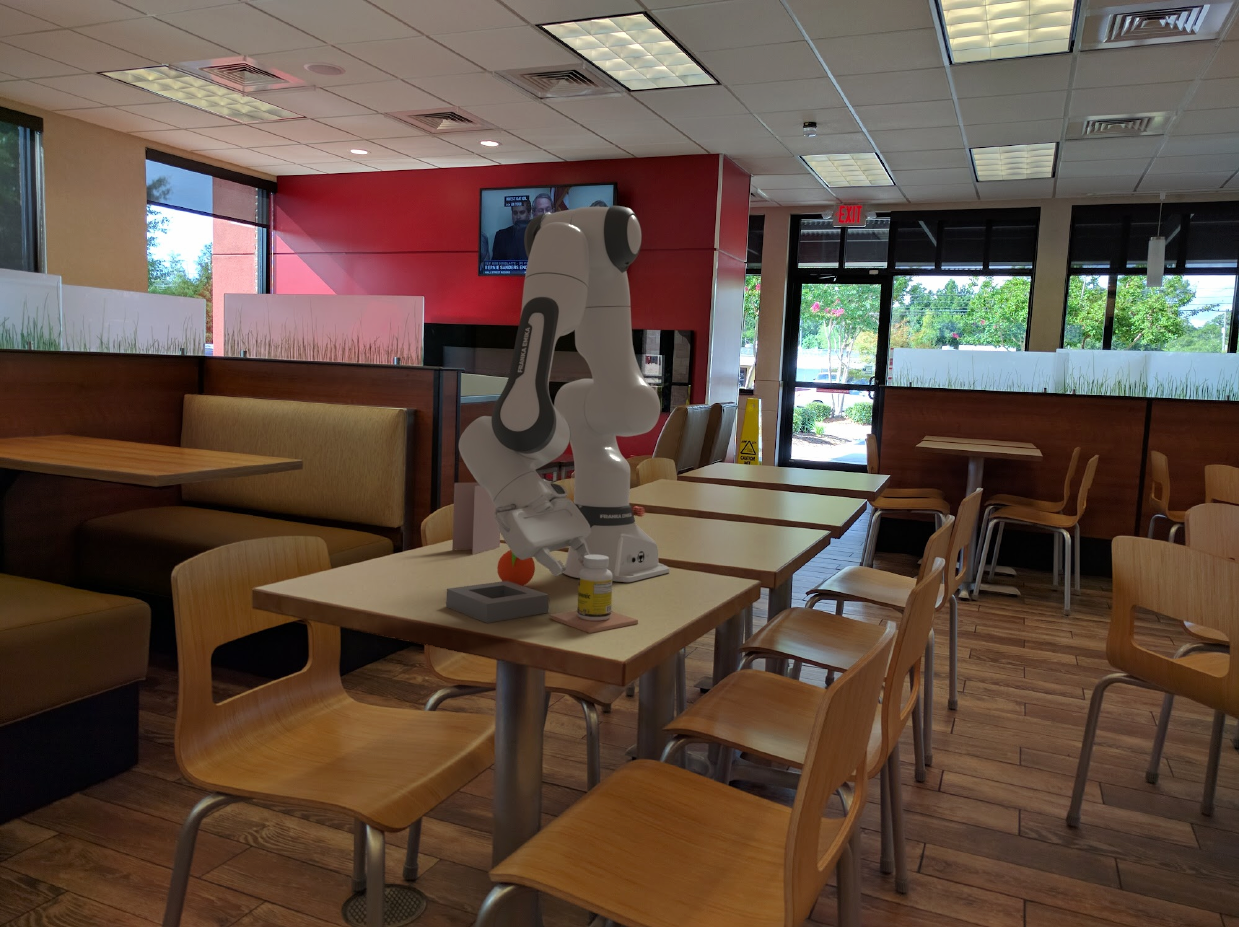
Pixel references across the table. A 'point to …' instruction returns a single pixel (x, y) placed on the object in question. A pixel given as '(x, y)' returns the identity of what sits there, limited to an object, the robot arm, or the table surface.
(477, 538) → the greeting card
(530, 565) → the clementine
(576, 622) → the coaster
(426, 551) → the table surface
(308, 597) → the table surface
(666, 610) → the table surface
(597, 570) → the supplement bottle
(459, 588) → the pocket holder
